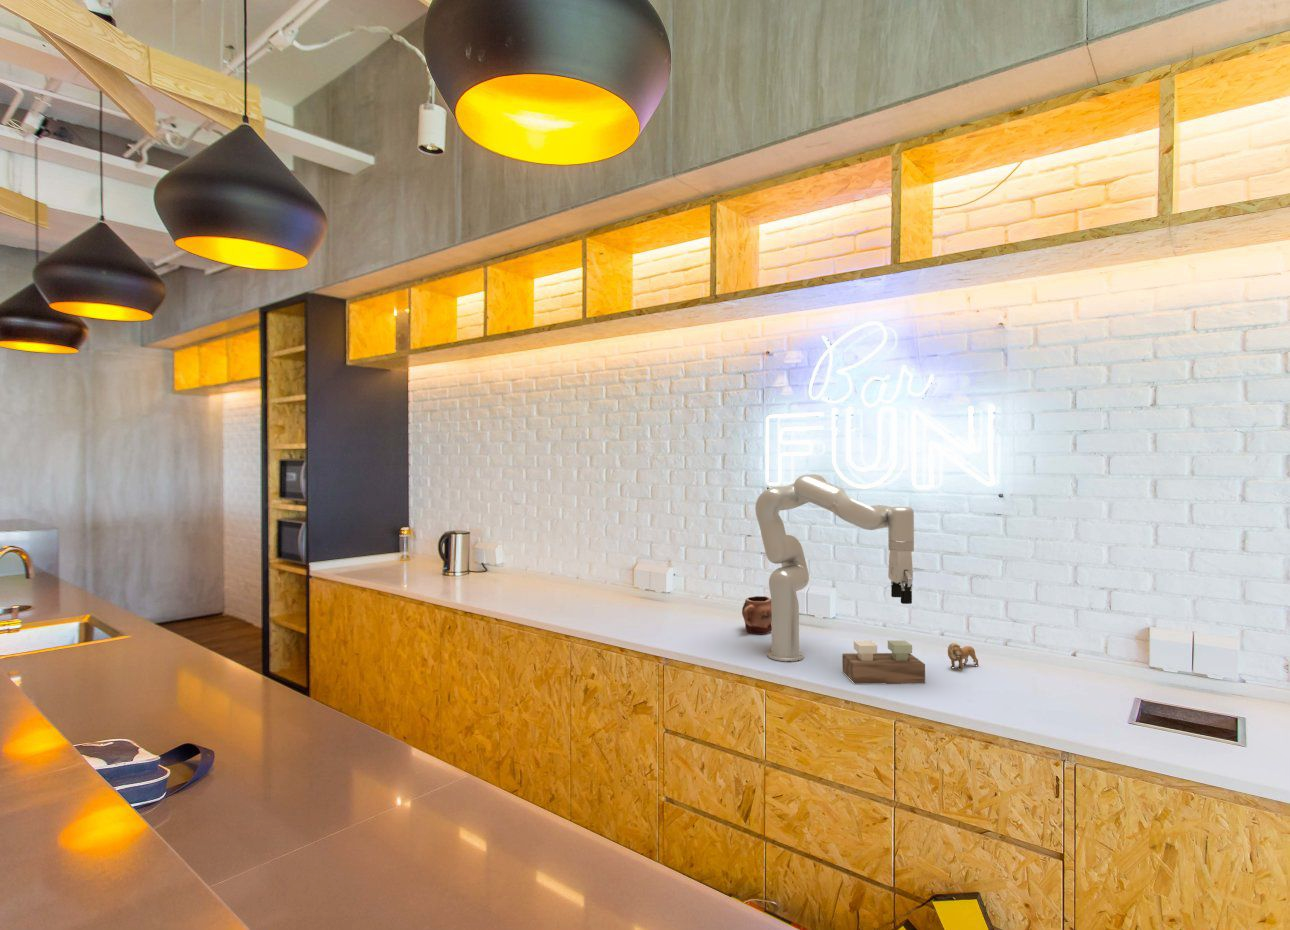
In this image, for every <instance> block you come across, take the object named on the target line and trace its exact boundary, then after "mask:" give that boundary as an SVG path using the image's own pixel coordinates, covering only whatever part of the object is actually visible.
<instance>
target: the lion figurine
mask: <svg viewBox="0 0 1290 930" xmlns="http://www.w3.org/2000/svg"><path fill="white" fill-rule="evenodd" d="M947 656H948V658H949V659H950V661H951V663H950V664H951V666H950V667H956V665H955V663H956V662H958V668H959V669H962V670H963V665H962V664H966V665H967V663H968V662H969V657H970V658H971V659H972V662H973V663H974V665H977V666H976V667H979V659H978V658H977V656H976V652H975V649H974V647H973V646H970V645H966V646H963V647H961V646H960V645H959V644H958V643H955V642H953V643H950V644H949V645H948V646H947ZM963 660H964V662H963Z"/></svg>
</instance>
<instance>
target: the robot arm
mask: <svg viewBox="0 0 1290 930" xmlns="http://www.w3.org/2000/svg"><path fill="white" fill-rule="evenodd" d="M808 503H811V504H813V505H816V506H818V507H821V508H822V509H825V510H827V511H830V512H831V513H833V514H834V515H835V516H837V517H839V518H840V519H841V520H843V521H845V522H848V523H850V524H851V525H853V526H856V527H857V528H861V529H863V530H866V531H875V530H879V529H885V528H886V529H887V528H888V529H887V530H888V532H887V533H888V542H887V543H888V547H887V548H888V551H889V554H888V571H887V572H888V575H887V576H888V579H889V580H890V584H891V585H890V591H891V592H890V595H891V598H900V603H901V604H903V605H911V604H912V603H913V588H912V587H913V579H914V577H913V576H914V575H913V574H914V573H913V572H914V571H913V569H914V567H913V558H912V557H913V555H912V552H915V524H914V523H915V514H914V509H913V508H912V507H909V506H890V505H888V506H887V505H883V504H881V505H880V504H875V505H867V504H865V503H864V502H863V503H862V502H860V501H857V500H855V499H854V498H852V497H850V496H849V495H847V493H846V491H845V490H844V489H843V488H842V487H839V486H837V485H834V484H832V483H830V482H827V480H826V479H825V478H824V477H823V476H821V475H819V474H814V473H813V474H802V475H800V476H799V477H798V478H797V479H795V482H794V483H792V484H789V485H785V486H784V485H783V486H772V487H770V488H767V489H765V490H764V491H763V492H762V493H760V494H759V496H758V497H757V499H756V502H755V508H754V510H755V515H756V519H757V523H758V526H759V530H760V534H761V535H760V536H761V540H762V543H763V548H764V552H765V556H766V558H767V560H768V561H769V562H770V563H772V564H775V565H776V564H777V565H779V564H781V567H778V568H776V569H775V570H773V571H772V572H771V574H770V576H769V578H768V587H769V593H770V594H769V595H770V599H771V613H772V621H771V627H772V631H771V649H769V650H768V651H767V652H766V654H767V655H766V656H767V657H768V658H769V659H771V660H774V661H777V662H778V661H779V662H787V661H791V662H798V660H799V661H801V660H803V659H804V657H805V655H804V653H803V652H802V651H800V604H799V599H798V595H797V592H799V591H801V590H803V589H805V588H806V587H807V586H808V584H809V581H810V572H809V570H808V566H807V561H806V557H805V553H804V549H803V546H802V543H801V542H800V540H799V539H798V538H797V537H795V536H793V535H791V534H787V533H786V530H785V529H786V528H785V524H784V521H783V520H782V517H781V516H780V513H779V512H781V511H787V510H788V511H789V510H792V509H796V508H798V507H801V506H803V505H806V504H808Z"/></svg>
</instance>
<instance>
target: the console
mask: <svg viewBox="0 0 1290 930" xmlns="http://www.w3.org/2000/svg"><path fill="white" fill-rule="evenodd" d="M841 656H842V671H843V672H844V673H845V674H846V675H847V676H848V677H849V678H850V679H851V680H852V681H853V682H854V683H886V684H885V685H893V684H895V685H902V684H901V683H925V684H926V663H924V662H922V661H921V660H920V659H919V658H917V657H916V656H914V655H913V654H912V653H908V661H895V660H894V659H893V658H892V652H886V653H885V652H882V653H881V652H877V654H873V661H860V660H859V659H858V652H857V653H854V652H852V653H851V652H850V653H847V652H846V653H842V655H841ZM843 672H842V673H843ZM844 673H843V674H844ZM845 674H844V675H845ZM846 675H845V676H846ZM847 676H846V677H847ZM848 677H847V678H848ZM849 678H848V679H849ZM850 679H849V680H850ZM851 680H850V681H851ZM852 681H851V682H852ZM853 682H852V683H853ZM854 683H853V684H854Z"/></svg>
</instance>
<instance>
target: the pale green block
mask: <svg viewBox="0 0 1290 930" xmlns="http://www.w3.org/2000/svg"><path fill="white" fill-rule="evenodd" d="M887 649H888V650H889V651H891V653H892V658H893V659H894V660H895V661H908V653H910V654H913V645H912V644H911V643H910V642H908V641H907V640H887Z"/></svg>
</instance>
